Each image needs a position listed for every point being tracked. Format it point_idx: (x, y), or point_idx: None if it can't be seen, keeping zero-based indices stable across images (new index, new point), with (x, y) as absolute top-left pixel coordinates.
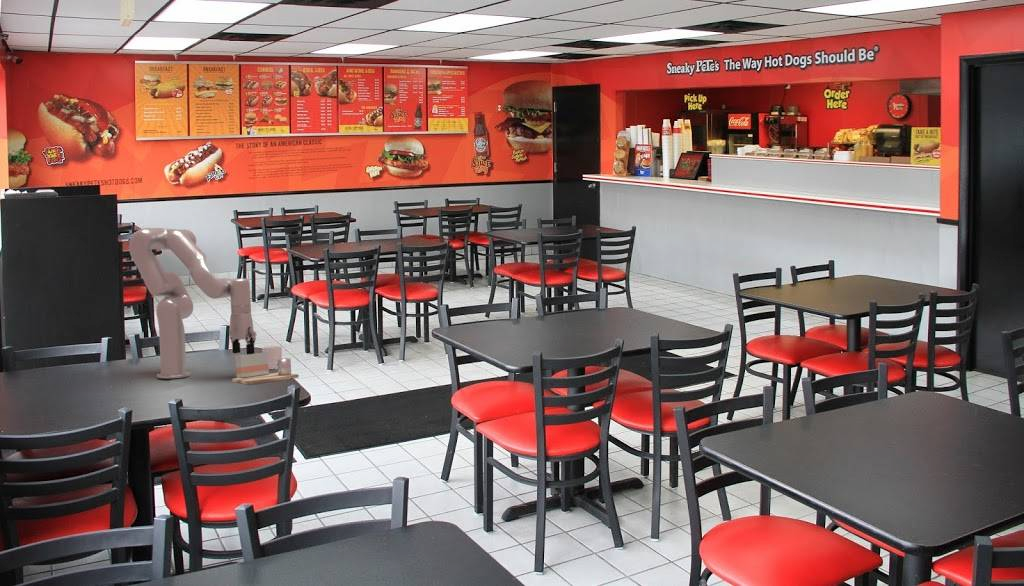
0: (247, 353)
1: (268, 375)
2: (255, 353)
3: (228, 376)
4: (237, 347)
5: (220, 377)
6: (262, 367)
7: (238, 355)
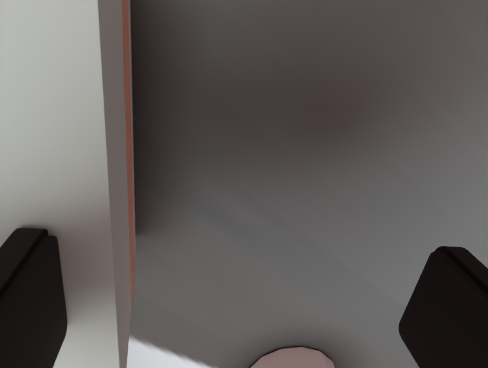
0: (13, 235)
1: None
2: (74, 352)
3: (396, 125)
4: (460, 365)
5: (424, 53)
6: None
7: (35, 46)
